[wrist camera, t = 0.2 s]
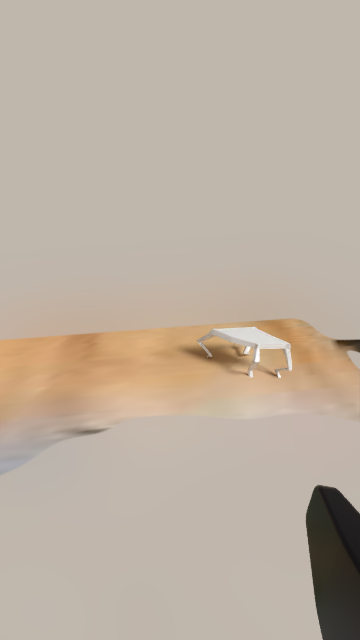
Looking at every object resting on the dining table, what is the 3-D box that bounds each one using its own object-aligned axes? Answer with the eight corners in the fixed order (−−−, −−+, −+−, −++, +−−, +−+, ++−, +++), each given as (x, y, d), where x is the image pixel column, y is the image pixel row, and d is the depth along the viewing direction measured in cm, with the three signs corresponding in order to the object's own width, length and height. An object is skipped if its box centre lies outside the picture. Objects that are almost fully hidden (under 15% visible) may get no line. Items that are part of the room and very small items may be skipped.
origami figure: (270, 352, 50) (277, 323, 49) (290, 384, 43) (299, 351, 41) (193, 346, 49) (197, 316, 47) (199, 378, 42) (205, 344, 40)
